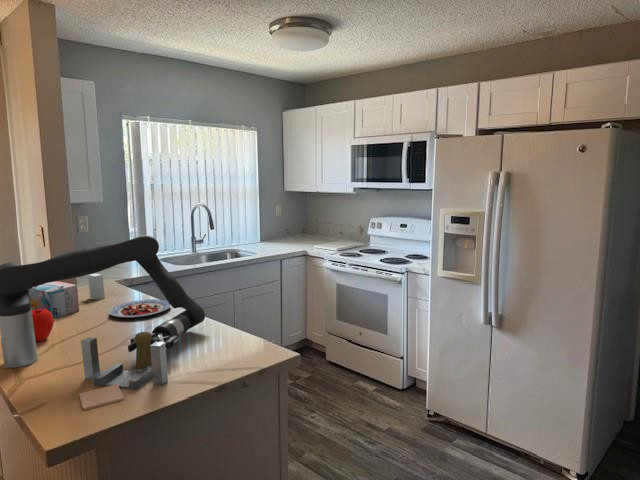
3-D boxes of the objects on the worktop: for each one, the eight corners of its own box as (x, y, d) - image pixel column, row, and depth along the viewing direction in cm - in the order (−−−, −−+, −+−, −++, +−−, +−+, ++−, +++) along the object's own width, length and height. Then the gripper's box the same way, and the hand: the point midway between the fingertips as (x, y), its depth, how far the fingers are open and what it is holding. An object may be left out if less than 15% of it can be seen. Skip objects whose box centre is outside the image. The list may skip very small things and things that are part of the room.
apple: (51, 333, 181) (47, 303, 179) (58, 339, 174) (55, 308, 172) (21, 340, 174) (17, 308, 172) (28, 346, 167) (24, 314, 165)
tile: (83, 410, 121) (83, 408, 121) (79, 395, 129) (79, 393, 129) (124, 399, 126) (123, 397, 126) (117, 385, 135) (117, 383, 135)
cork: (149, 360, 152) (146, 328, 151) (159, 365, 149) (156, 332, 147) (131, 366, 148) (128, 333, 146) (141, 371, 144) (138, 337, 142)
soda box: (1, 307, 219) (-3, 281, 217) (31, 300, 230) (28, 274, 228) (50, 320, 198) (47, 290, 196) (81, 311, 210) (78, 283, 208)
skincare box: (105, 297, 231) (103, 274, 229) (97, 300, 227) (94, 276, 225) (98, 296, 234) (95, 273, 232) (90, 298, 230) (87, 275, 228)
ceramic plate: (108, 325, 190) (108, 318, 189) (109, 308, 213) (109, 302, 213) (174, 316, 200) (173, 309, 199) (168, 301, 223) (167, 295, 223)
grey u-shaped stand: (99, 369, 146) (95, 333, 144) (174, 375, 141) (171, 338, 139) (76, 383, 137) (72, 345, 135) (155, 391, 131) (152, 350, 129)
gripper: (149, 320, 163) (120, 337, 147) (186, 322, 159) (160, 339, 144) (150, 341, 164) (122, 359, 148) (187, 343, 161) (162, 362, 145)
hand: (141, 349), depth 146 cm, fingers open, 8 cm apart
